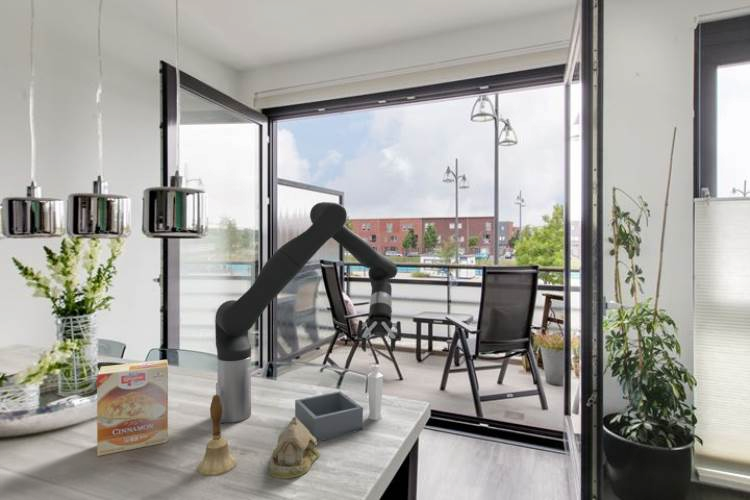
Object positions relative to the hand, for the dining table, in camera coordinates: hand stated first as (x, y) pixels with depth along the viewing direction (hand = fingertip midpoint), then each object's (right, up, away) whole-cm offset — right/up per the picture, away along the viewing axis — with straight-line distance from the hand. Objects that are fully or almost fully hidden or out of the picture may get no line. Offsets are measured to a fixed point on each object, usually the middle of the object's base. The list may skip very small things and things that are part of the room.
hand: (378, 350), depth 128 cm
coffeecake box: (-61, -17, -25) cm, 68 cm away
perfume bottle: (-1, -17, -9) cm, 20 cm away
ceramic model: (-20, -18, -33) cm, 43 cm away
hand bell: (-37, -17, -35) cm, 54 cm away
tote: (-14, -17, -15) cm, 26 cm away
